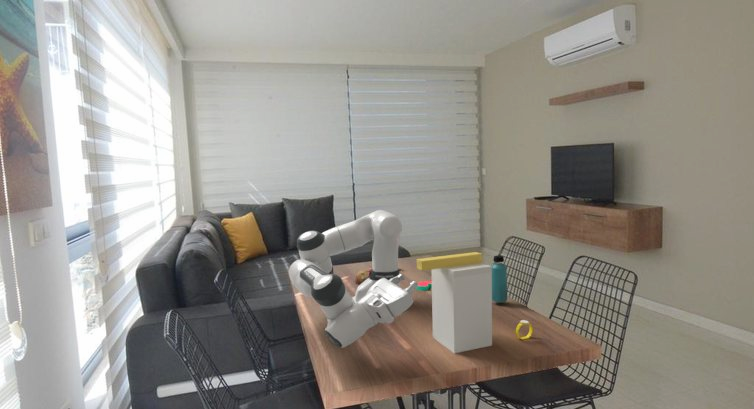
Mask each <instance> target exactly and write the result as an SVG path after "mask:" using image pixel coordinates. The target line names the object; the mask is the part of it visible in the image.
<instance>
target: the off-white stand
mask: <svg viewBox="0 0 754 409" xmlns="http://www.w3.org/2000/svg"><path fill="white" fill-rule="evenodd" d="M430 271H431V281H432V287H431V304H432V305H431V306H432V307H431V308H432V309H431V310H432V312H431V315H432V316H431V317H432V338H433V339H434V340H435V341H437V342H438V343H440V344H441V345H442V346H444V347H445V348H447V350H449V351H450V352H452V353H453V354H459V353H463V352H467V351H468V352H469V351H472V350H476V349H481V348H482V349H483V348H487V347H491V346H493V301H492V265H490V264H486V263H484V262H482V263H477V264H470V265H462V266H455V267H447V268H440V269H432V270H430Z"/></svg>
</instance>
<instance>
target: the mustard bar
mask: <svg viewBox="0 0 754 409" xmlns="http://www.w3.org/2000/svg"><path fill="white" fill-rule="evenodd" d="M477 263H483V254H482V253H481V252H477V251H474V252H465V253H456V254H455V253H454V254H448V255H440V256H438V255H437V256H432V257H425V258H417V259H416V269H417V270H419V271H421V272H422V271H429V270H430V271H431V270H432V269H440V268H447V267H455V266H462V265H470V264H477Z"/></svg>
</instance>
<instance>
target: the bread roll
mask: <svg viewBox="0 0 754 409" xmlns="http://www.w3.org/2000/svg"><path fill="white" fill-rule="evenodd" d="M368 278H369V277H368V270H367V269H363V270H360V271H358V273H357V274H356V275H355V284H357V285H358V286H359V285H360V284H361V283H363V282H364V281H365V280H366V279H368Z"/></svg>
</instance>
